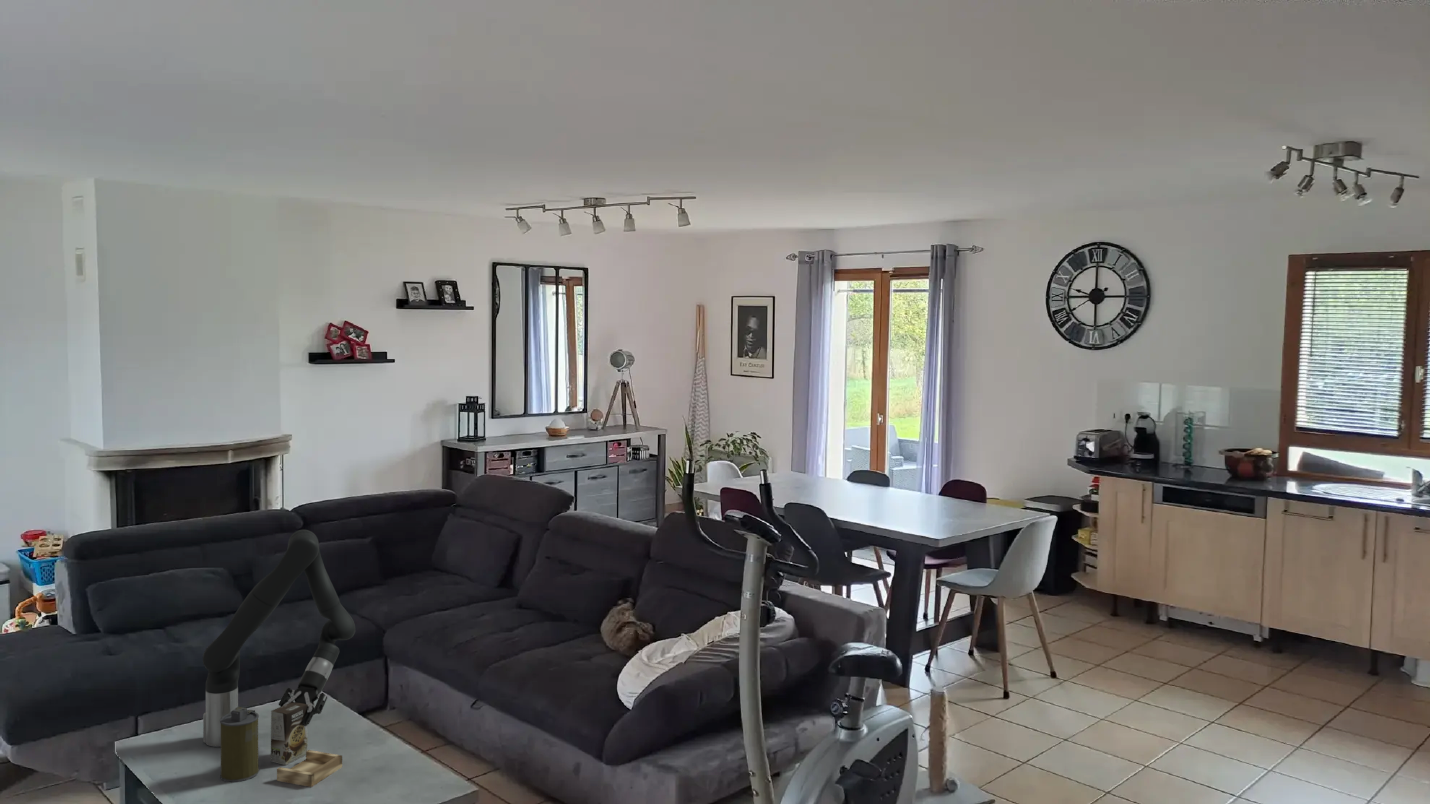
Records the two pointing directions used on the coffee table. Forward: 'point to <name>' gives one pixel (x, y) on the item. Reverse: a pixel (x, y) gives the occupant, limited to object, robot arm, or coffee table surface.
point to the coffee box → (288, 733)
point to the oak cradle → (311, 769)
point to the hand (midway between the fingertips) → (292, 723)
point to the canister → (239, 745)
